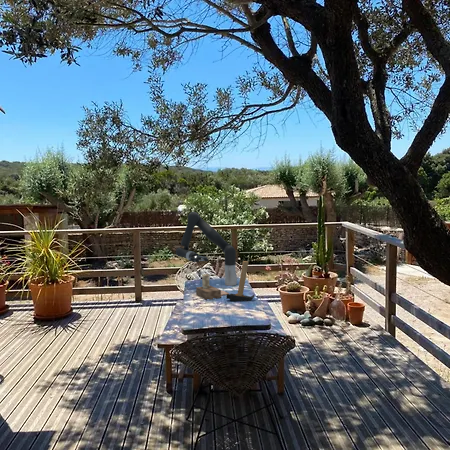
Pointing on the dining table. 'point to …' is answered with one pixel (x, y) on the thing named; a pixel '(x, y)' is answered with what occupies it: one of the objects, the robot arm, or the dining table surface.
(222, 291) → the terracotta tile
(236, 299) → the hammer
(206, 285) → the maple key
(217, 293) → the walnut toolbox
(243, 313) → the dining table surface
